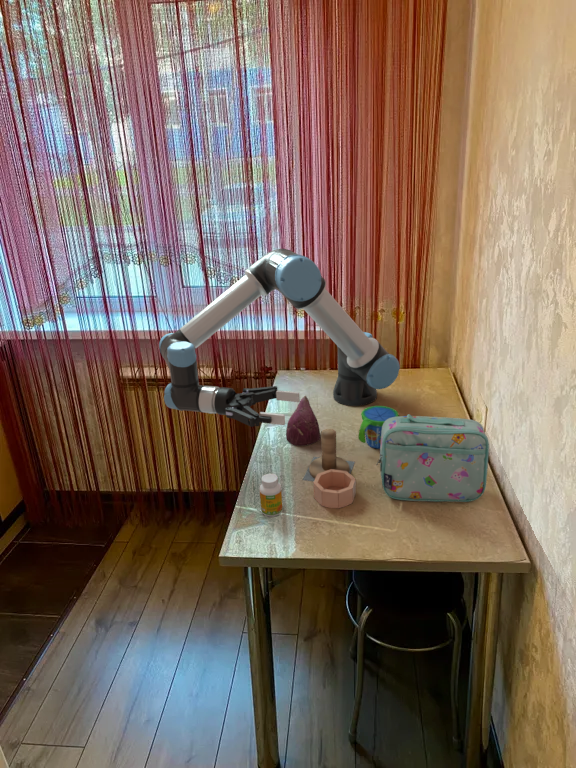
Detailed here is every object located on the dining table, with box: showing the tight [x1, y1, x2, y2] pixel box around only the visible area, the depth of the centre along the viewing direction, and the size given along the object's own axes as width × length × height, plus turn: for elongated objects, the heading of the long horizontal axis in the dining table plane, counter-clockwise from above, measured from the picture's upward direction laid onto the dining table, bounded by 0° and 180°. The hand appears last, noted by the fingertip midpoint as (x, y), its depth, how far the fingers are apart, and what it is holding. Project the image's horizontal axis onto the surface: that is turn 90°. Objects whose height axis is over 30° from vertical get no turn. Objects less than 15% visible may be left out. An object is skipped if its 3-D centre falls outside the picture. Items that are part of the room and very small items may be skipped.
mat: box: [302, 456, 356, 483], centre depth 153 cm, size 12×12×1 cm
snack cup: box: [358, 405, 400, 450], centre depth 164 cm, size 16×10×10 cm
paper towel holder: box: [308, 428, 349, 478], centre depth 151 cm, size 11×11×12 cm
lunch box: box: [376, 413, 490, 503], centre depth 138 cm, size 27×10×21 cm, turn 82°
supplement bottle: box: [259, 472, 284, 518], centre depth 137 cm, size 5×5×10 cm
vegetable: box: [285, 395, 321, 447], centre depth 170 cm, size 10×10×15 cm
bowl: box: [313, 469, 357, 509], centre depth 142 cm, size 10×10×5 cm
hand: (292, 408), depth 148 cm, fingers open, 13 cm apart
